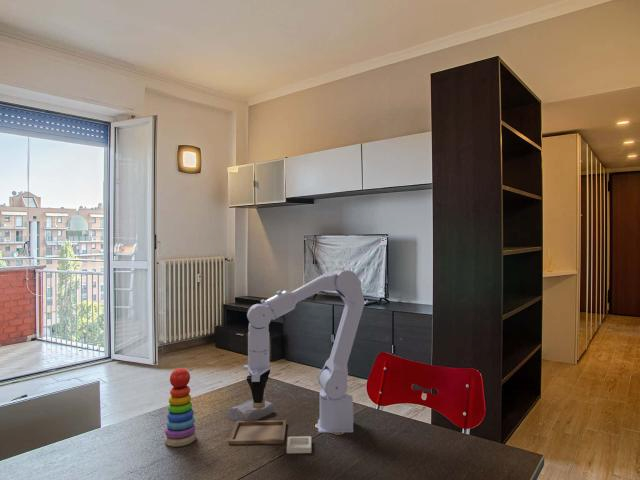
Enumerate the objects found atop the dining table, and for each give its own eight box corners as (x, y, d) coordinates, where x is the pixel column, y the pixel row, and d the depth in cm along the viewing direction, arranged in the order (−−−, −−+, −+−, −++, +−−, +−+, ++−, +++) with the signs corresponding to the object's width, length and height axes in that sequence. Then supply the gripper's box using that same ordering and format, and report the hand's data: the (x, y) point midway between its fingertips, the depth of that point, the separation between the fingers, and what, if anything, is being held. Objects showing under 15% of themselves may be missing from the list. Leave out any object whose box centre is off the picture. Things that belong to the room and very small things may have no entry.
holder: (311, 442, 111) (311, 436, 111) (311, 454, 105) (311, 447, 105) (287, 442, 111) (287, 436, 111) (286, 454, 105) (286, 447, 105)
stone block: (224, 425, 126) (248, 426, 121) (222, 408, 127) (246, 408, 121) (253, 413, 136) (276, 414, 130) (251, 397, 137) (274, 398, 131)
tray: (286, 424, 122) (286, 420, 122) (283, 444, 110) (283, 440, 110) (236, 425, 122) (236, 420, 122) (228, 445, 110) (228, 440, 110)
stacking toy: (202, 437, 114) (202, 366, 114) (181, 450, 107) (181, 375, 107) (179, 431, 117) (179, 363, 117) (157, 444, 110) (157, 371, 110)
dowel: (265, 404, 117) (265, 383, 117) (264, 408, 114) (264, 387, 114) (253, 404, 117) (253, 383, 117) (252, 408, 114) (252, 387, 114)
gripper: (247, 343, 123) (247, 390, 123) (239, 356, 108) (239, 410, 108) (272, 342, 123) (272, 390, 123) (267, 356, 109) (267, 410, 109)
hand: (258, 400), depth 116 cm, fingers closed on dowel, 3 cm apart
